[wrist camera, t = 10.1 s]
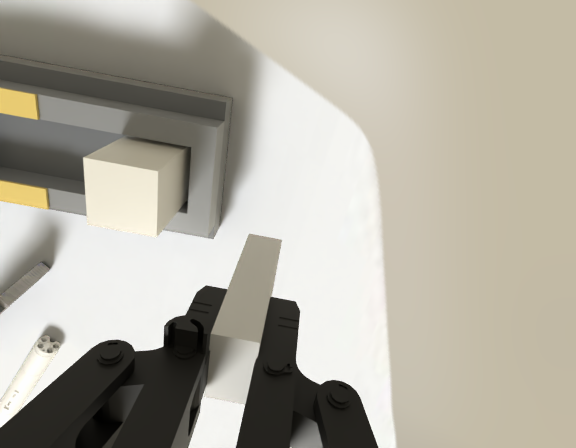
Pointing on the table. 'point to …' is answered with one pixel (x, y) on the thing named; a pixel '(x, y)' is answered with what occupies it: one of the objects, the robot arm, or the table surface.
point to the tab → (136, 184)
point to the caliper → (22, 286)
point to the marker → (27, 377)
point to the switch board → (104, 136)
